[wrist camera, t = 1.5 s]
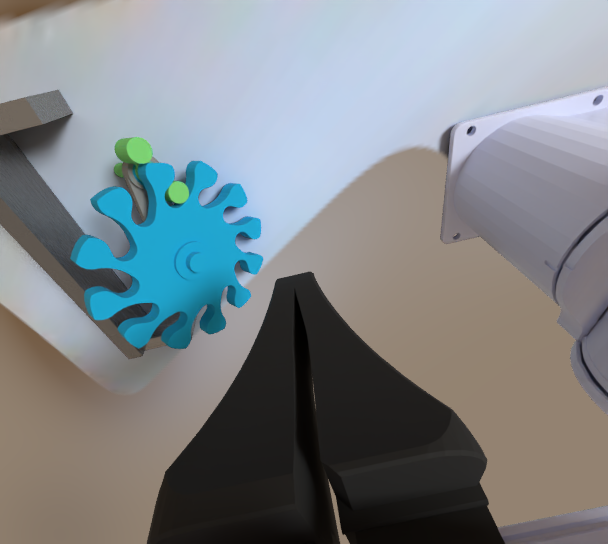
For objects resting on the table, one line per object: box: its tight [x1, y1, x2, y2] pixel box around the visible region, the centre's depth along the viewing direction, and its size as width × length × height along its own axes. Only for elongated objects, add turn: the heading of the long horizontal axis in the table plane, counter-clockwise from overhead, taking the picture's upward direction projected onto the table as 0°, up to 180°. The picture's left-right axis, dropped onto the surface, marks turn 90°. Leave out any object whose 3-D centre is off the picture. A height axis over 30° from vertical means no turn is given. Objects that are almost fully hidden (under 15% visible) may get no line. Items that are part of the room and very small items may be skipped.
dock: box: [0, 90, 197, 359], centre depth 18 cm, size 4×16×3 cm, turn 12°
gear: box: [70, 137, 263, 349], centre depth 17 cm, size 11×6×10 cm
